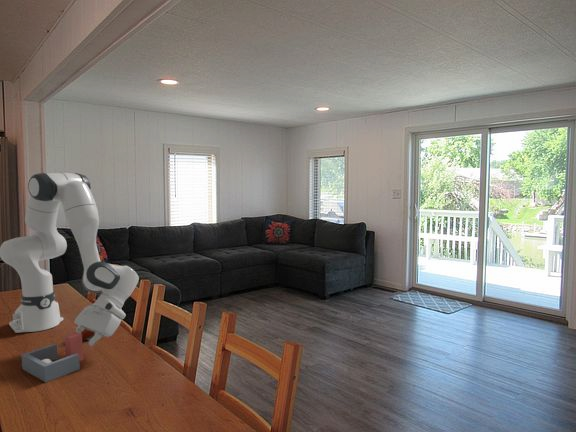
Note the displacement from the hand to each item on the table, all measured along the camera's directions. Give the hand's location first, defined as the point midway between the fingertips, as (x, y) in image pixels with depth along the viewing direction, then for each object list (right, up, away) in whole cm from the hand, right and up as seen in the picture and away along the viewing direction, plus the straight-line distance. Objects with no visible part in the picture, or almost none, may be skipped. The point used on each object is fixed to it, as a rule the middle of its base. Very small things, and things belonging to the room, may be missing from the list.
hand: (81, 342), depth 142 cm
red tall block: (-2, -6, -2) cm, 6 cm away
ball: (-6, -5, -8) cm, 11 cm away
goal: (-6, -6, -8) cm, 11 cm away
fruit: (-7, -4, +18) cm, 20 cm away
